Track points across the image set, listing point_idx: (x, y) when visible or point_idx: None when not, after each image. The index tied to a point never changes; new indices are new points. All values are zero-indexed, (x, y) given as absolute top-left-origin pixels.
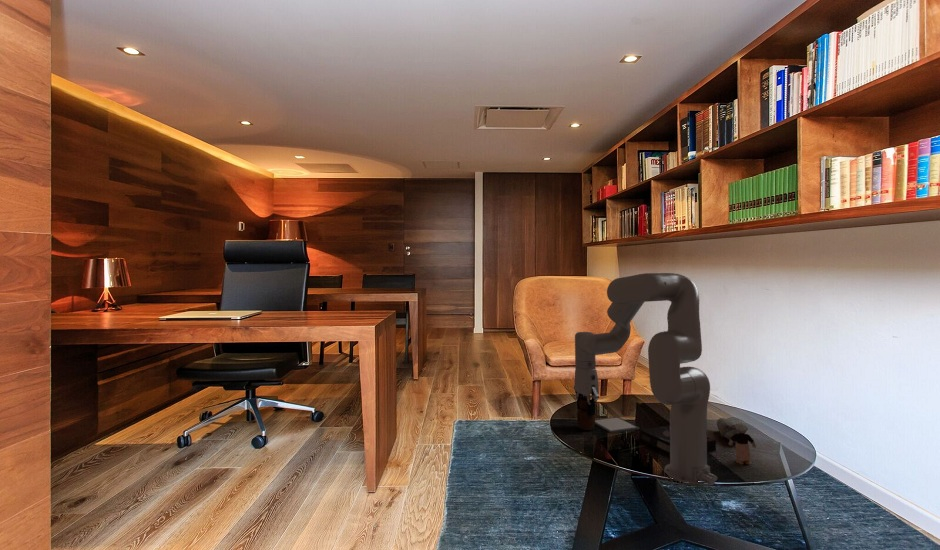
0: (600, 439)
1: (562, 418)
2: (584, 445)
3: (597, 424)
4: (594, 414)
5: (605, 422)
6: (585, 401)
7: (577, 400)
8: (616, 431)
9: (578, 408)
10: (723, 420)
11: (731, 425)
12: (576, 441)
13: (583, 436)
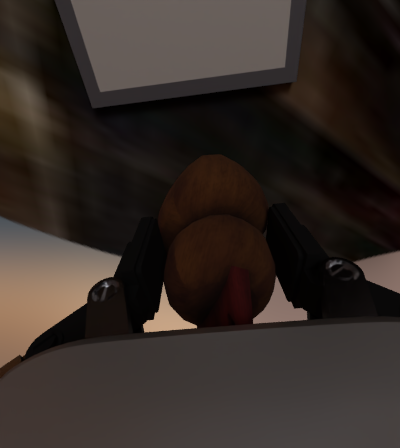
0: (327, 178)
1: (58, 223)
2: (336, 251)
3: (167, 98)
4: (262, 193)
5: (138, 8)
6: (257, 314)
7: (151, 312)
8: (301, 25)
9: (165, 263)
10: None
11: None
12: None
13: None
